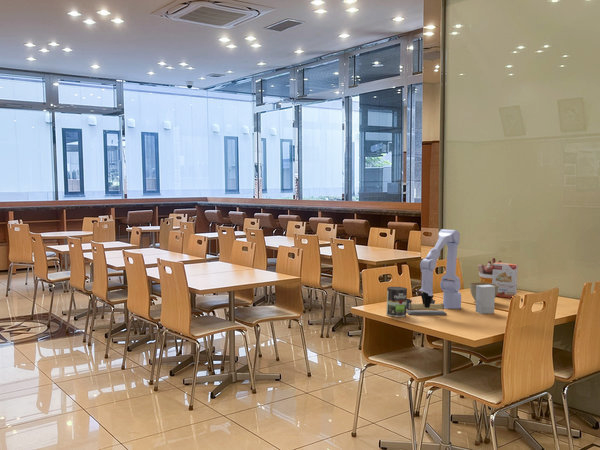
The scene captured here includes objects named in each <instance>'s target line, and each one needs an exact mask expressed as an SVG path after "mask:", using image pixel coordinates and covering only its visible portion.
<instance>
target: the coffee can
mask: <svg viewBox="0 0 600 450" xmlns="http://www.w3.org/2000/svg"><path fill="white" fill-rule="evenodd" d="M407 293H408V288H407V287H402V286H388V287H386V311H385V313H386V314H387V315H386V316H388V315H389V316H388V317H392V316H395V317H394V318H403V317H406V316H407V312H406V310H407V309H406V300H407V299H408V298H407V296H408V294H407Z"/></svg>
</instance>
